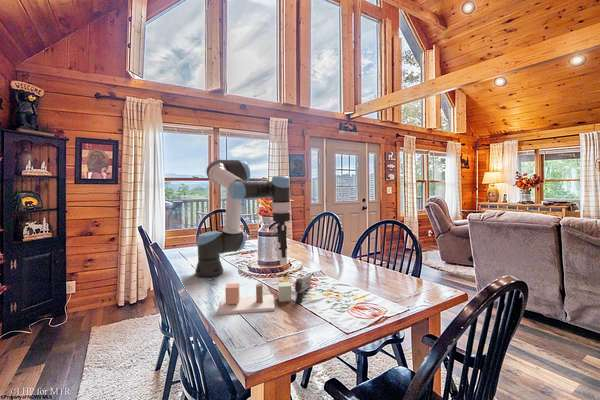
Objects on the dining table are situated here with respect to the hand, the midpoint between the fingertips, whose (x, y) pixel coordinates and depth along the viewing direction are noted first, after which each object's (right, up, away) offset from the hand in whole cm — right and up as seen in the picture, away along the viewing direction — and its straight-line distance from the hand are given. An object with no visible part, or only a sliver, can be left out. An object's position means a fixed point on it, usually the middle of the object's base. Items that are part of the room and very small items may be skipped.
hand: (282, 260), depth 130 cm
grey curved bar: (+9, -17, +7) cm, 21 cm away
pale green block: (+1, -17, +2) cm, 17 cm away
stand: (-14, -18, -4) cm, 23 cm away
